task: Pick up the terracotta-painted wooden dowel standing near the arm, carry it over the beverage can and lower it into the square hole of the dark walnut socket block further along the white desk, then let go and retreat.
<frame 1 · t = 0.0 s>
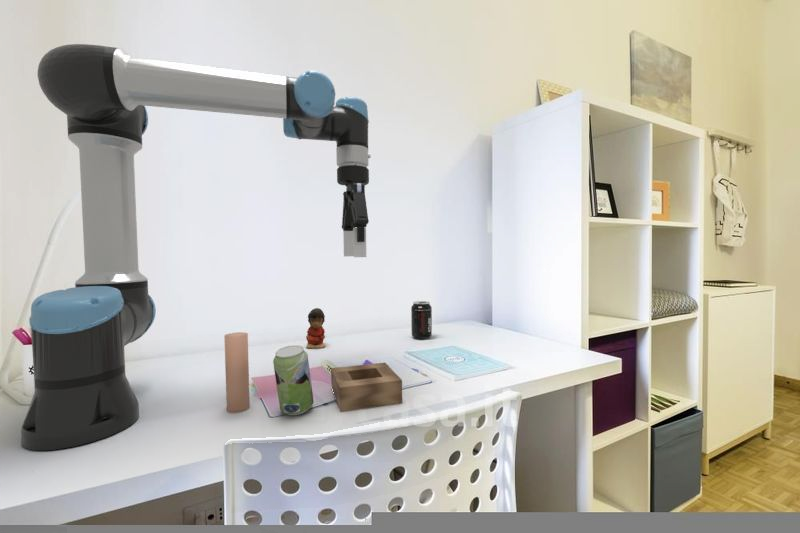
hand: (354, 256, 90), 28 cm above the table, fingers open, 13 cm apart
beverage can: (294, 413, 69), on the table
beverage can 2: (421, 338, 126), on the table
socket block: (365, 395, 76), on the table
figurine: (315, 347, 115), on the table
dowel: (238, 408, 71), on the table
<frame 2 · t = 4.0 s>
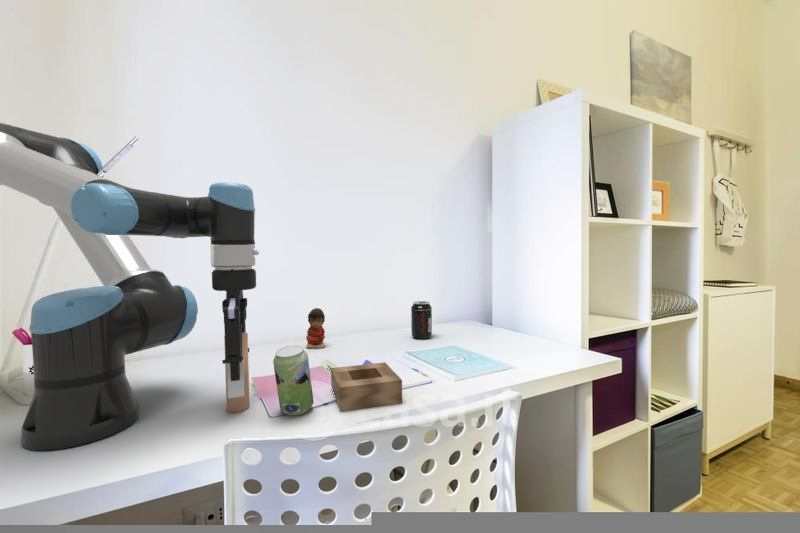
hand: (237, 391, 71), 3 cm above the table, fingers closed on dowel, 4 cm apart
dowel: (238, 407, 71), on the table, touching gripper
everything else where it was.
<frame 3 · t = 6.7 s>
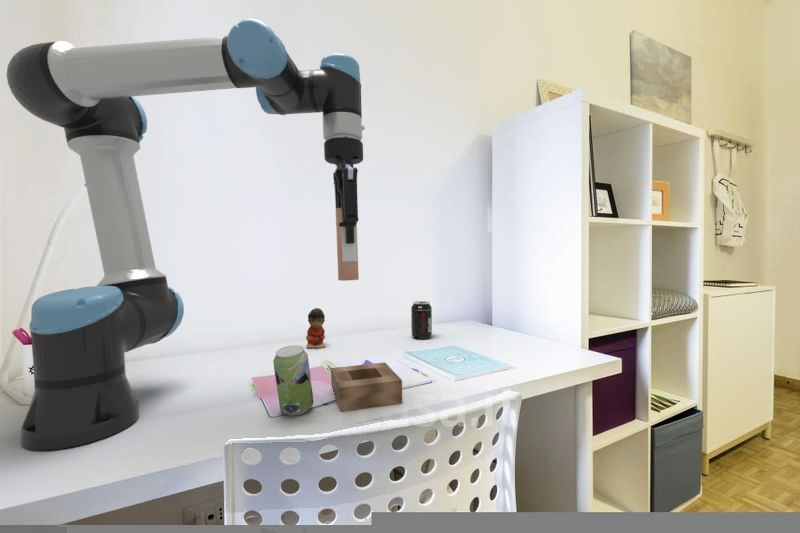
hand: (347, 260, 74), 28 cm above the table, fingers closed on dowel, 4 cm apart
dowel: (348, 279, 74), point 24 cm above the table, touching gripper
everything else where it was.
when the fingers open (6 cm above the table, at t = 9.9 s): dowel drops 2 cm, resting in socket block.
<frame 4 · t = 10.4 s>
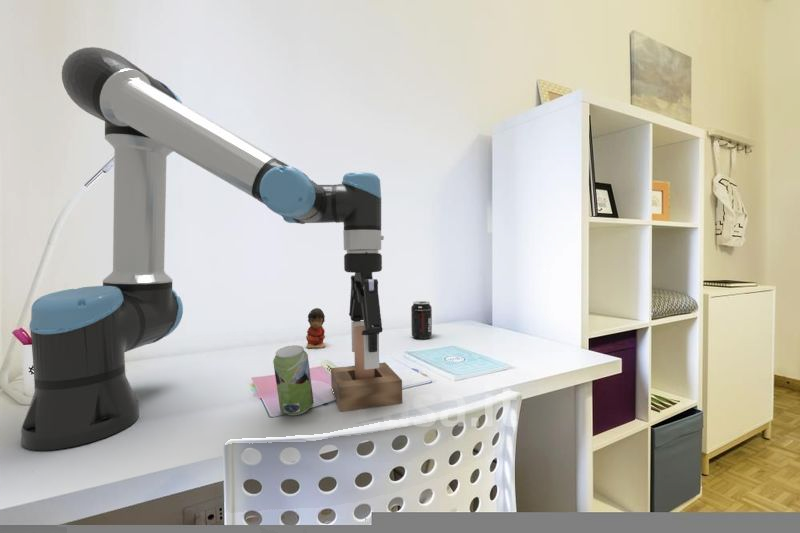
hand: (364, 359, 76), 8 cm above the table, fingers open, 12 cm apart
dowel: (365, 395, 76), resting in socket block
everything else where it was.
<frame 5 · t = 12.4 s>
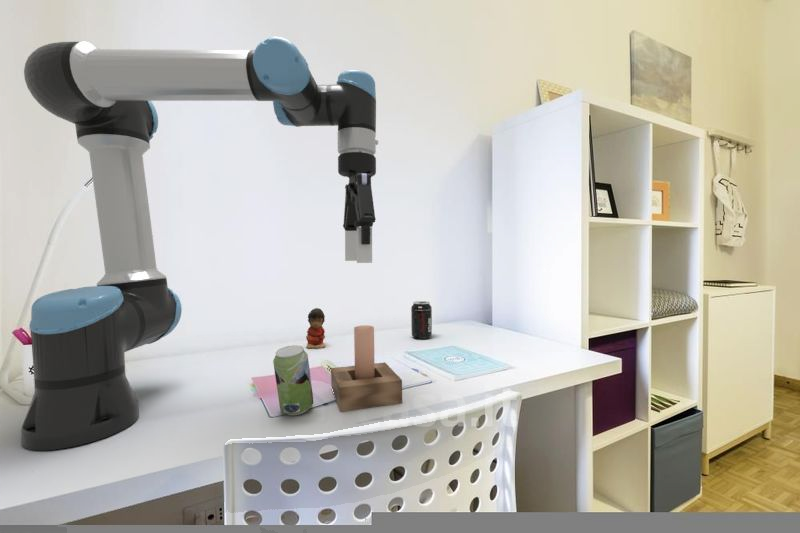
hand: (357, 261, 76), 27 cm above the table, fingers open, 13 cm apart
nothing on the table moved.
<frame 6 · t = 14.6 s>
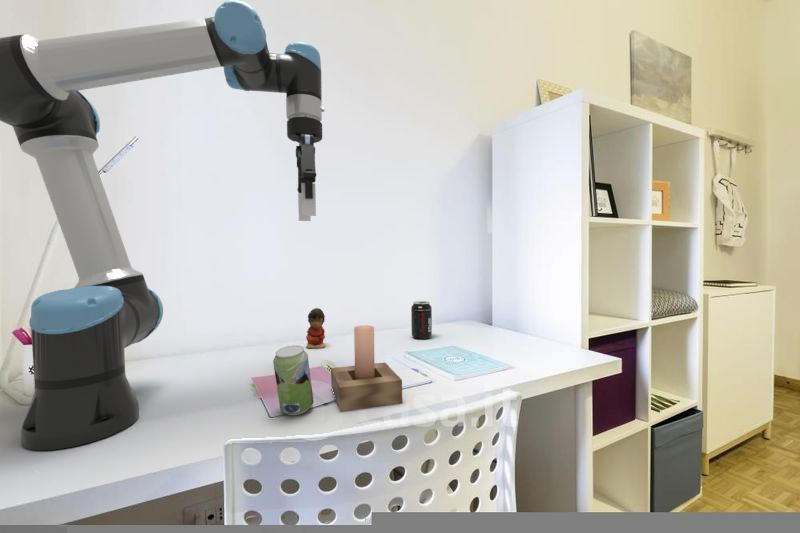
hand: (306, 218, 83), 37 cm above the table, fingers open, 13 cm apart
nothing on the table moved.
at the end: dowel 0.0 cm off-centre on the socket block, point 0.0 cm above the socket block's base; dowel tilted 0°; the gripper is holding nothing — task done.
